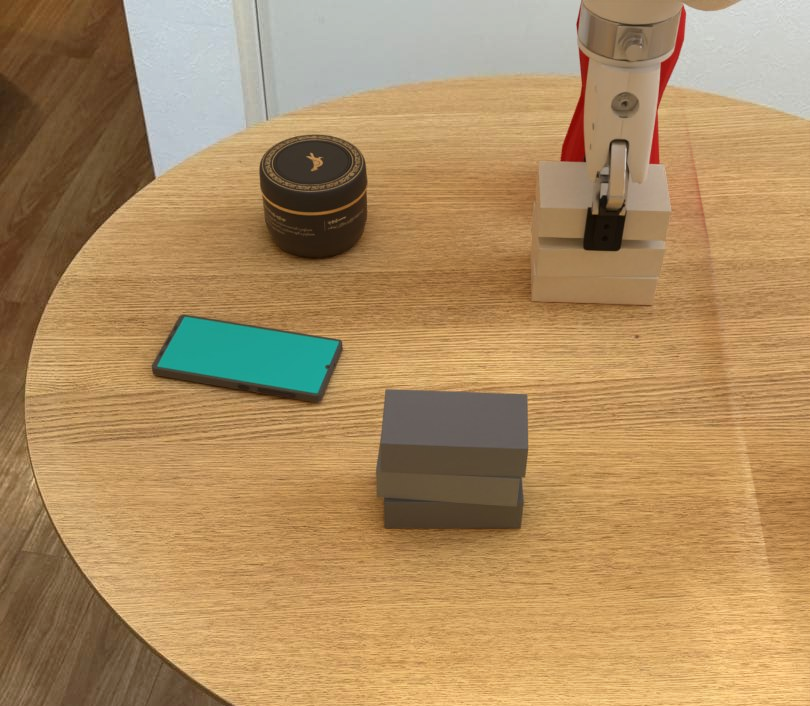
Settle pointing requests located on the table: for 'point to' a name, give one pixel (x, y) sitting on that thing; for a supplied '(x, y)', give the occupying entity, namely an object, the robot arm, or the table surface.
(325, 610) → the table surface
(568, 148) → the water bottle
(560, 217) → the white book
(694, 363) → the table surface
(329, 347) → the smartphone
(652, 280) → the white pile
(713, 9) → the robot arm
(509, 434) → the grey pile
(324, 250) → the jar
